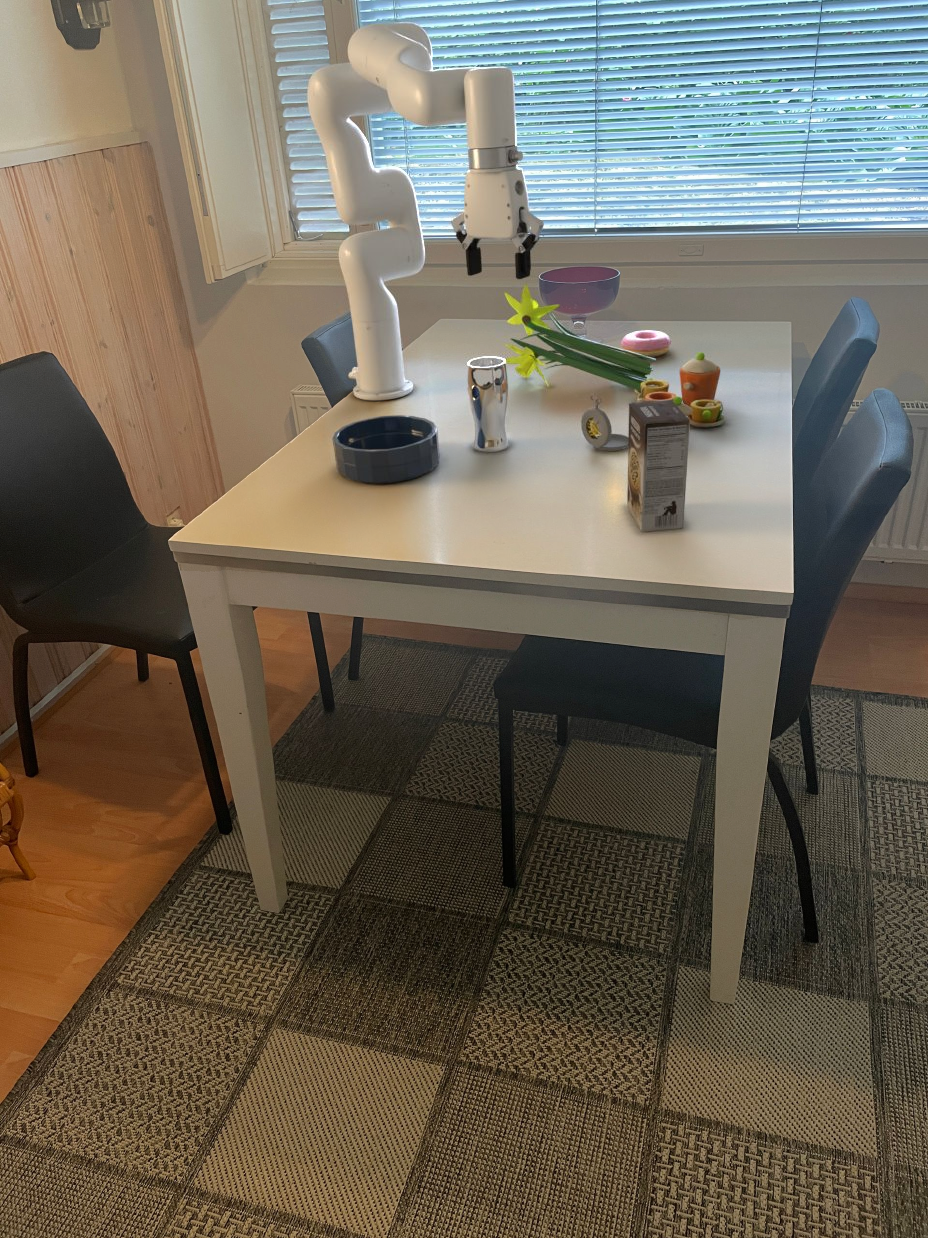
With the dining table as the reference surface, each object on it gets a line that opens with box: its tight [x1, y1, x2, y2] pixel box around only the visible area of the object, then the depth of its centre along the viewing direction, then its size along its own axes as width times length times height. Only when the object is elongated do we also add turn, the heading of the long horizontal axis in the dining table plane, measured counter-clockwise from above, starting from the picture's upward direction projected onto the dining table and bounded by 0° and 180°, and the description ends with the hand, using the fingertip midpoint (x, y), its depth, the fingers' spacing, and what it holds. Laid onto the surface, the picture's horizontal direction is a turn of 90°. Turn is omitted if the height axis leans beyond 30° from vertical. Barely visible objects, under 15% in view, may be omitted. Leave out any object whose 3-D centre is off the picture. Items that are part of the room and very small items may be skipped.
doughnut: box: [620, 329, 672, 358], centre depth 210 cm, size 11×11×4 cm
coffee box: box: [626, 400, 691, 533], centre depth 133 cm, size 9×6×16 cm
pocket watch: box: [580, 394, 628, 452], centre depth 160 cm, size 8×8×10 cm
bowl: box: [331, 414, 441, 485], centre depth 160 cm, size 18×18×6 cm
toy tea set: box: [634, 351, 726, 428], centre depth 171 cm, size 26×16×10 cm, turn 176°
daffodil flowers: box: [503, 284, 657, 392], centre depth 192 cm, size 17×15×35 cm
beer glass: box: [466, 356, 509, 453], centre depth 163 cm, size 7×7×15 cm
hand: (498, 275), depth 154 cm, fingers open, 9 cm apart
